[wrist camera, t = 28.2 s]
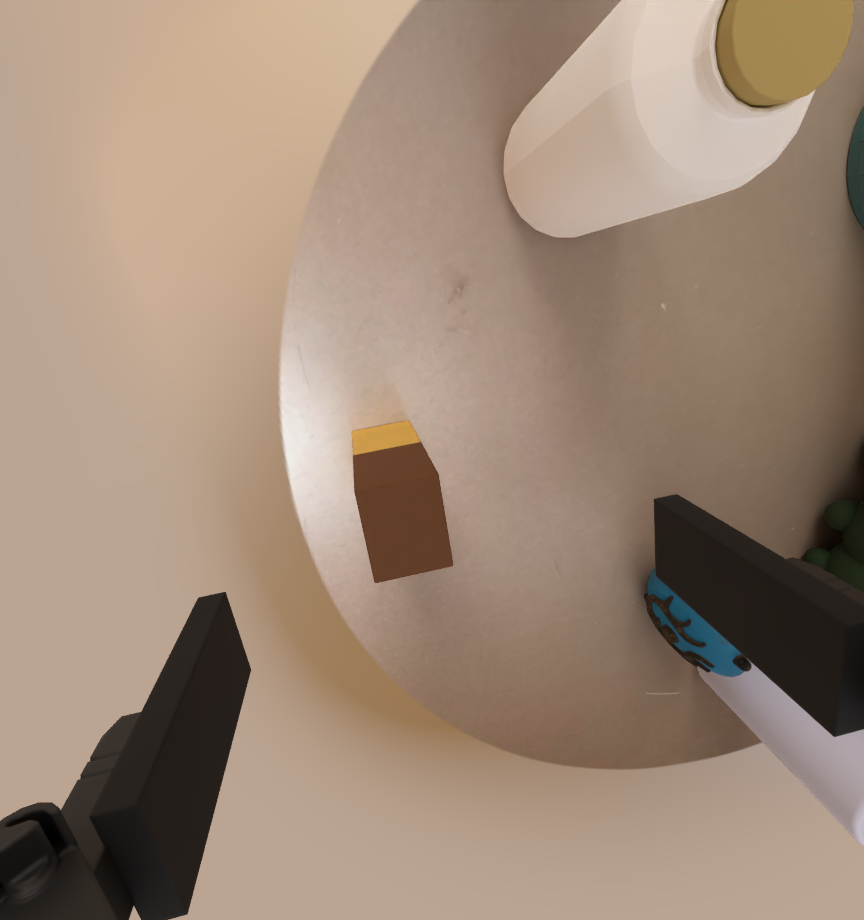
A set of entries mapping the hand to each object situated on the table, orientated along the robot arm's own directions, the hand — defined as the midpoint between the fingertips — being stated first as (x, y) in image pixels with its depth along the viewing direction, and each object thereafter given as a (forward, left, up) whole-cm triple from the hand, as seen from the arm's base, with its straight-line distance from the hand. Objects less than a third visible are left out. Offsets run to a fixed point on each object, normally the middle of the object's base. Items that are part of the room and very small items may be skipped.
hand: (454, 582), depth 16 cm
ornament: (+18, +19, -22) cm, 34 cm away
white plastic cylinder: (-14, +13, -22) cm, 29 cm away
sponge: (+2, -1, -21) cm, 21 cm away
